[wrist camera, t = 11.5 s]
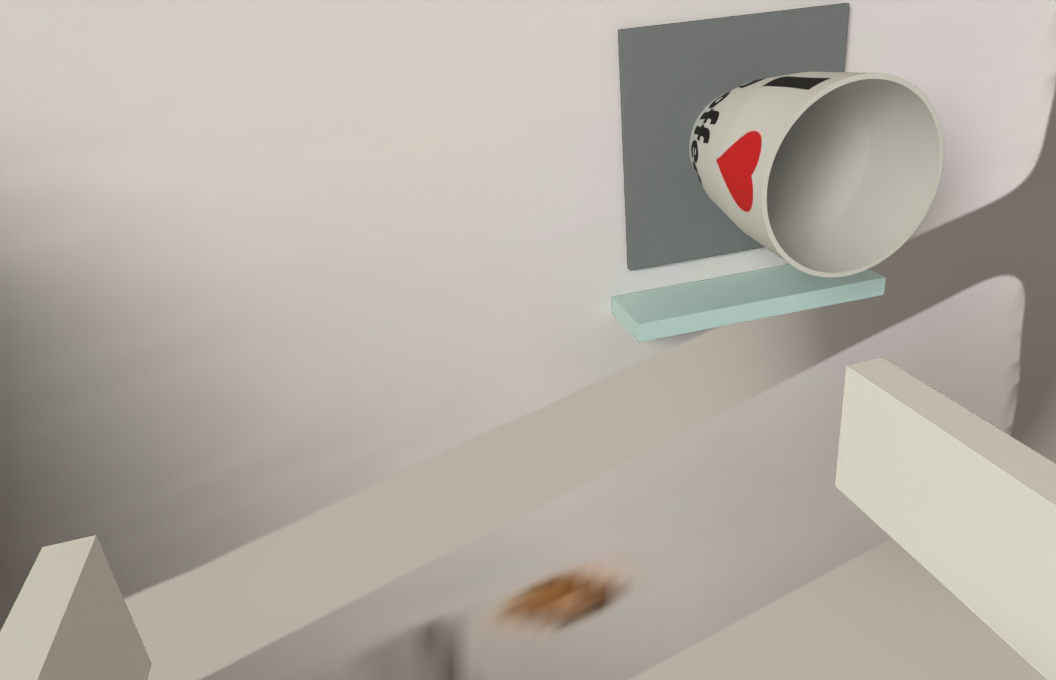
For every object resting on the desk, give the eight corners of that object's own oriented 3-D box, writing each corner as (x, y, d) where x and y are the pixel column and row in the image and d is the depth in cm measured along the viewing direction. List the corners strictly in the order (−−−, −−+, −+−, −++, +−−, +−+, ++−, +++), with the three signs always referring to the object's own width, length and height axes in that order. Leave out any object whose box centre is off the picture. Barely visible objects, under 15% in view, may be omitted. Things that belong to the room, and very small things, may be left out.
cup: (725, 24, 37) (852, 28, 28) (834, 114, 40) (980, 144, 31) (631, 169, 38) (723, 218, 29) (743, 245, 42) (856, 309, 33)
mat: (627, 268, 41) (630, 270, 41) (618, 29, 36) (620, 30, 35) (826, 233, 43) (831, 235, 43) (844, 3, 38) (849, 3, 38)
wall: (612, 313, 42) (638, 342, 38) (611, 296, 41) (638, 324, 38) (839, 271, 44) (883, 294, 41) (840, 255, 44) (885, 277, 40)
